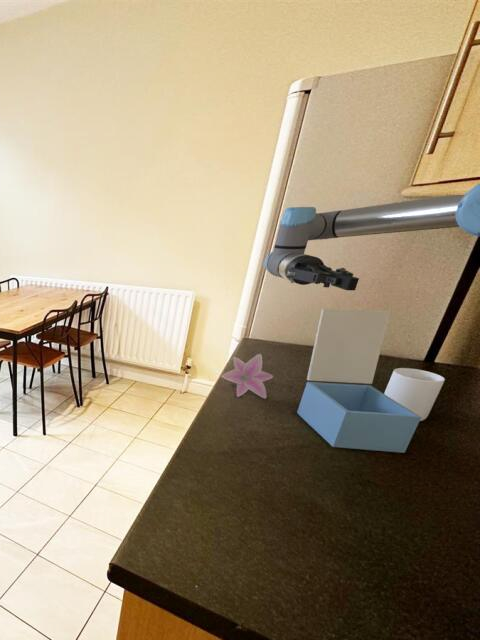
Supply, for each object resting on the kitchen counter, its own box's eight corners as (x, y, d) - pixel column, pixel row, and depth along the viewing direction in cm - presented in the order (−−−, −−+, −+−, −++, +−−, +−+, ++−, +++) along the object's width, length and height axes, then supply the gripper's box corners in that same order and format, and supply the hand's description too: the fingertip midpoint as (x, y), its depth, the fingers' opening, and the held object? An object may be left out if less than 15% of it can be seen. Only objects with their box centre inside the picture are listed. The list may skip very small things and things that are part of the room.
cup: (381, 416, 98) (398, 377, 94) (371, 397, 107) (386, 361, 103) (431, 425, 93) (450, 384, 89) (416, 404, 103) (433, 366, 98)
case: (404, 452, 84) (421, 417, 81) (332, 446, 87) (346, 412, 83) (357, 417, 98) (370, 385, 94) (296, 412, 101) (307, 381, 97)
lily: (208, 393, 114) (226, 372, 106) (219, 366, 120) (236, 344, 112) (254, 414, 110) (276, 393, 102) (262, 385, 116) (284, 363, 108)
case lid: (390, 310, 90) (388, 310, 91) (323, 309, 93) (321, 309, 93) (372, 383, 94) (369, 383, 95) (308, 380, 97) (306, 379, 97)
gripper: (324, 282, 114) (381, 301, 93) (270, 282, 117) (314, 300, 96) (333, 254, 111) (394, 267, 90) (278, 254, 114) (324, 267, 93)
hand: (352, 284), depth 93 cm, fingers closed
